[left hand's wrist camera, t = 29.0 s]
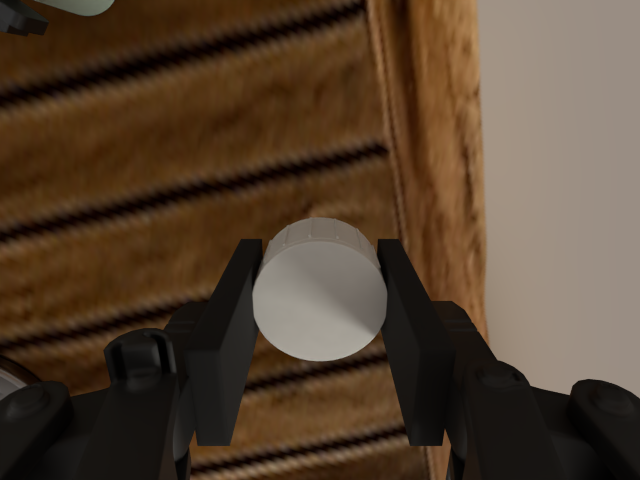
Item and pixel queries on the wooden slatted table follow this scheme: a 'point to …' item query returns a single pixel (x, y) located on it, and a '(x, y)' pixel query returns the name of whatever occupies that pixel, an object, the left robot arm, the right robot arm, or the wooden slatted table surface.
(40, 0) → the bottle
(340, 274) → the cap
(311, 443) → the wooden slatted table surface
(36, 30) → the right robot arm
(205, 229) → the wooden slatted table surface
